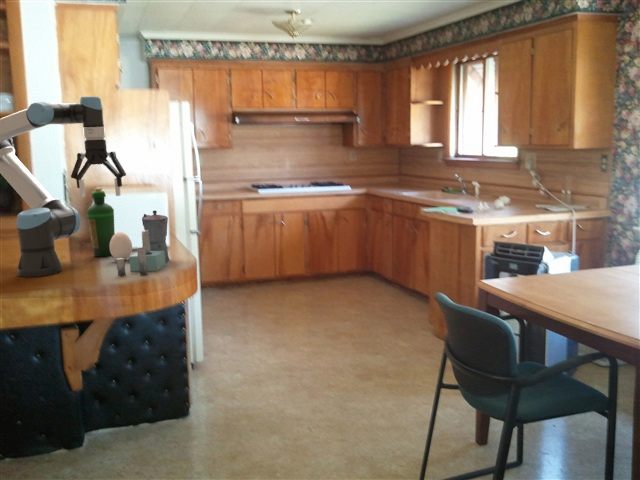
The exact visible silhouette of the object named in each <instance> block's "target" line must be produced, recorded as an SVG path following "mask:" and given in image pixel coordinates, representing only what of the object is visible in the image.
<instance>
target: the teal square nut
mask: <svg viewBox="0 0 640 480" xmlns="http://www.w3.org/2000/svg"><path fill="white" fill-rule="evenodd" d="M150 252H151V254H147V255H145V256H146V265H147V272H151V271H152V272H156V271H159V270H161V269H162V268H163V267H164V266H166V262H165V251H150ZM128 258H129V269H130V272H140V270H139V262H138V253H137V252H134V253H133V254H132V255H130V256H129V257H128Z"/></svg>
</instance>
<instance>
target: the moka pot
mask: <svg viewBox="0 0 640 480" xmlns="http://www.w3.org/2000/svg"><path fill="white" fill-rule="evenodd" d="M157 212H158V211H157V210H153V211H152V214H151V215H150V214H146V213H144V214H143V216H142V217H141V218H142V219H141V222H142V226H143V231H144V230H148V231H149V240H150V251H165V263H166V262H169V260H170V257H169V253H168V252H169V251H168V248H167V237H168V235H167V234H168V223H169V222H168V216H166V215H161V214H157Z"/></svg>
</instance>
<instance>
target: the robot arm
mask: <svg viewBox="0 0 640 480" xmlns="http://www.w3.org/2000/svg"><path fill="white" fill-rule="evenodd" d="M75 124H82V128H83V129H82V132H83V138H84V139H85V140H84V150H85V153H84V152H78V153H77V154H76V160H75V163H74V167H73V169H72V171H71V175H70V178H71V179H74V180H75V182H76V187H77V189H79V195H80V198H86V189H85V188H86V187H85V180H84V178H83V177H84V176H85V174H86V172H87V171H88V170H89V169H90V167H92V165H104V166H105V167H106V168H107V170H109V171H110V172H111V174H112V175H113V176H114V177H115V178H114V189H115V197H120V196H121V187H122V186H123V182H122V178H123V177H126V176H127V173H126V171H125V170H124V168H123V166H122V164H121V163H120V160H119V159H118V158H117V154H116V151H110V152H109V151H107V141H106V139H105V138H106V131H105V122H104V107H103V103H102V98H101V96H95V95H94V96H87V95H86V96H81V97H79V102H73V103H72V102H70V103H67V102H66V103H65V102H44V101H43V102H42V101H39V102H38V101H37V102H33V103H30V105H29V106H28V107H27V108H25V109H23V110H19V111H18V112H14V113H11V114H9V115H7V116H4V117H1V118H0V174H1V176H2V177H3V178H4V179H5V180H6V182H7V183H8V184H9V185H10V186H11V187H12V188H13V190H14V191H16V193H17V194H18V195H19V196H20V197H21V199H22V200H23V201H24V202H25V203H26V204H27V206H29V208H30V209H26V210H23V211H21V212H19V213H18V214H17V216H16V227H17V234H18V242H19V249H20V257H19V262H18V265H17V275H18V276H19V277H24V278H25V277H26V278H27V277H28V278H31V277H33V278H34V277H43V276H48V275H54V274H58V273H60V272H62V271H63V266H62V262H61V260H60V258H59V255H58V254H57V251H56V247H55V241H57V240H61V239H64V238H65V239H66V238H69V237H71V236H74V235H75V234H76V233H77V232H79V229H80V227H81V217H80V213H79V212H78V210H77V209H76V208H75V207H73V206H70V205H65V203H63V202H62V201H61V199H59V198H55V197H54V198H53V196H52V195H51V194H50V193H49V192H48V190H46V189H45V188H44V186H43V185H42V184H41V183H40V182H39V181H38V179H37V178H36V177H35V176H34V175H33V174H32V173H31V172H30V171H29V169H28V168H27V167H26V166H25V165H24V164H23V163H22V162H21V161H20V159H19V158H18V156H16V149H15V146H14V145H15V144H14V140H13V138H15V137H17V136H20V135H23V134H25V133H28V132H32V131H34V130H37V129H40V128H43V127H45V126H48V125H61V126H63V125H65V126H66V125H75ZM108 157H109V158H110V160H111V161H112V163H113V164H114V166H115V167H114V166H113V165H112V163H110V161H109V160H108V159H107V158H108ZM84 159H86V161H85V163H84V165H83V167H82V163H83V161H84ZM81 167H82V168H81ZM80 168H81V169H80Z"/></svg>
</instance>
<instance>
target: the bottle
mask: <svg viewBox="0 0 640 480" xmlns="http://www.w3.org/2000/svg"><path fill="white" fill-rule="evenodd" d="M93 190H94V191H92V192H91V198H93V204H91V205H89V207H88V209H86V216H87V217H86V218H87V223H88V227H89V228H88V230H89V235H90V242H91V246H92V253H93V256H95V257H97V258H106V257H111V256H112V255H111V252H110V247H109V245H110V241H111V238H112V237H113V235H114V234H116V233H115V211H114V208H113V207H112V206H111V205H110V204H108V203H107V202H105V199H106V192H105V191H104V190H103V188H102V187H95V188H93Z"/></svg>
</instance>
